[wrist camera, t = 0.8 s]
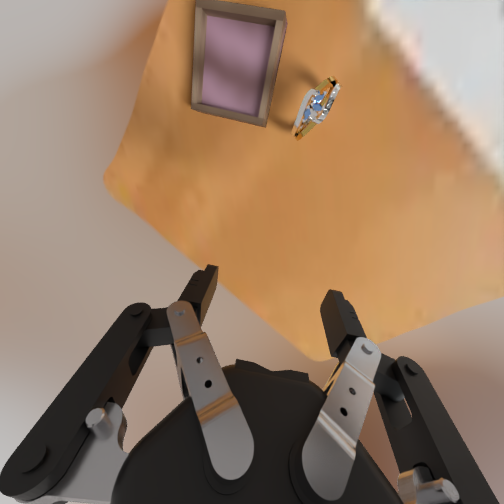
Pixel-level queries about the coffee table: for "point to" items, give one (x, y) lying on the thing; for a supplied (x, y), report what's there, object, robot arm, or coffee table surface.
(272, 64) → the jewellery tray
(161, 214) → the coffee table surface
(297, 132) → the ring
